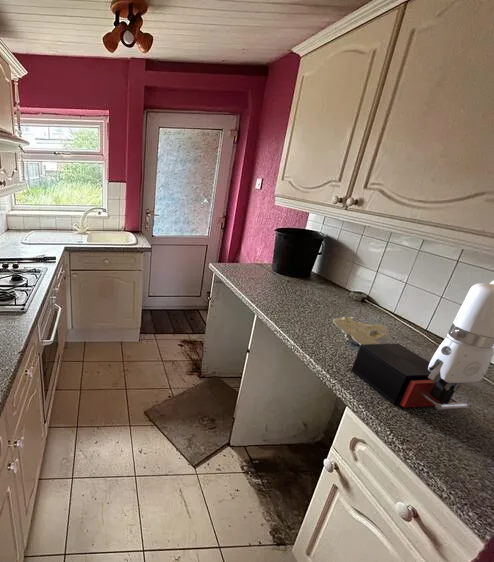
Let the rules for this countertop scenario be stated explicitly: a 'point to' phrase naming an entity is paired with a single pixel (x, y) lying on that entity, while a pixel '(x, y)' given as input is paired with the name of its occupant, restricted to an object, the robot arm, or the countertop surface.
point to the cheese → (362, 331)
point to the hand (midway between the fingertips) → (438, 398)
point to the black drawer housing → (389, 368)
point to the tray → (425, 395)
